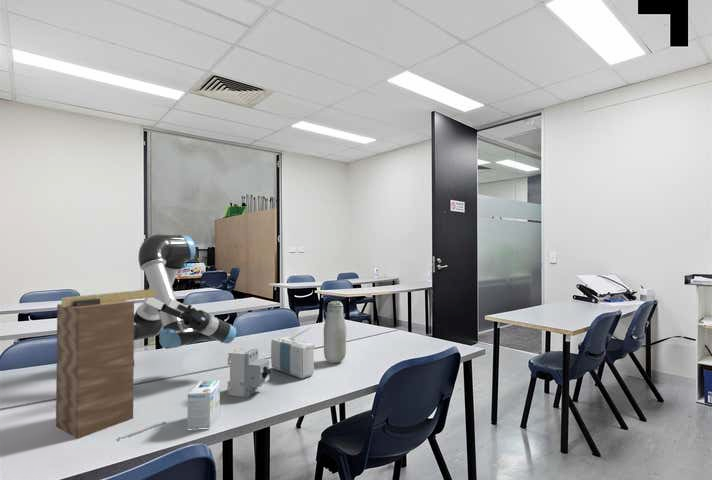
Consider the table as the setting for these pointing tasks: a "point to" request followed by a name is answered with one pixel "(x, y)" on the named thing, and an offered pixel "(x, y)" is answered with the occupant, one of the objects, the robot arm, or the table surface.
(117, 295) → the light wood bar
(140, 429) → the ruler
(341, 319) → the grey water bottle
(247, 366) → the circuit breaker
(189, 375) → the table surface
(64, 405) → the walnut stand
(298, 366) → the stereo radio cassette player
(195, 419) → the light bulb box
